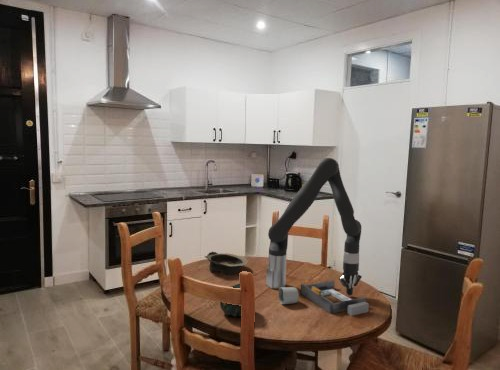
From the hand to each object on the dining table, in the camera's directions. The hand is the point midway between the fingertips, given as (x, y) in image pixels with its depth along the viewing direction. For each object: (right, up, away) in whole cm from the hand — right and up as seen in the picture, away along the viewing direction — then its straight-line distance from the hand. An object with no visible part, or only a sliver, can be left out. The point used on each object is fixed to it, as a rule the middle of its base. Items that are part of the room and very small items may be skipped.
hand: (349, 294), depth 189 cm
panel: (-1, -3, -17) cm, 18 cm away
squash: (-54, -2, -21) cm, 58 cm away
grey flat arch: (-10, -2, -5) cm, 11 cm away
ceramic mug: (-32, -1, -8) cm, 32 cm away
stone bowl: (-63, +4, +34) cm, 71 cm away
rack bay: (-9, -1, -4) cm, 10 cm away
